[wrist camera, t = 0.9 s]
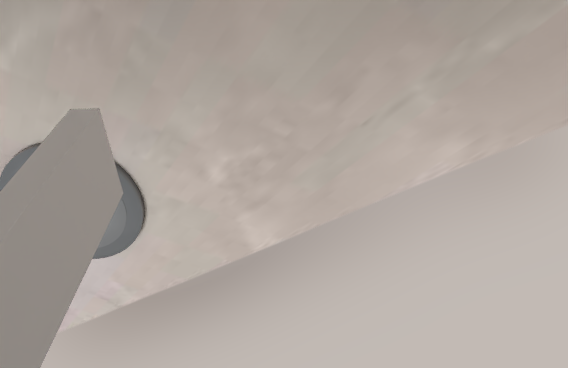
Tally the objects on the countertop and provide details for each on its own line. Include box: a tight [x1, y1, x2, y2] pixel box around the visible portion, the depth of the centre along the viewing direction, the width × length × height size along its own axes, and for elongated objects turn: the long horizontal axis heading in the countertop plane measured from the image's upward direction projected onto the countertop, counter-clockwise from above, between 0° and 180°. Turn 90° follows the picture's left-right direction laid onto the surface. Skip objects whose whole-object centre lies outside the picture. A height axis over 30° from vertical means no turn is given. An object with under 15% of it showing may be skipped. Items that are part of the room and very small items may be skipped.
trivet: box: [0, 143, 144, 259], centre depth 47 cm, size 14×14×1 cm
